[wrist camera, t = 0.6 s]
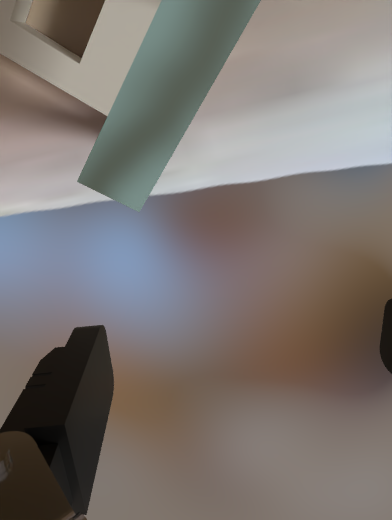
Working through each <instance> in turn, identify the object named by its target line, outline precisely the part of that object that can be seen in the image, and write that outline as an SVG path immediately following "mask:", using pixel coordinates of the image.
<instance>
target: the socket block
mask: <svg viewBox="0 0 392 520" xmlns="http://www.w3.org/2000/svg"><path fill="white" fill-rule="evenodd" d="M32 1H33V0H0V54H2V55H3V56H5V57H7V58H8V59H10V60H12V61H14V62H15V63H17V64H19V65H20V66H22V67H24V68H26V69H27V70H29V71H31V72H32V73H34V74H36V75H38V76H39V77H41V78H43V79H44V80H46V81H48V82H50V83H51V84H53V85H55V86H56V87H58V88H60V89H62V90H63V91H65V92H67V93H68V94H70V95H72V96H74V97H75V98H77V99H79V100H80V101H82V102H84V103H85V104H87V105H89V106H91V107H92V108H94V109H96V110H97V111H99V112H101V113H103V114H104V115H106V116H108V114H109V112H110V110H111V108H112V106H113V103H114V101H115V99H116V97H117V95H118V93H119V91H120V88H121V86H122V84H123V82H124V80H125V78H126V76H127V73H128V71H129V69H130V67H131V65H132V63H133V61H134V58H135V56H136V54H137V52H138V50H139V48H140V46H141V43H142V41H143V39H144V37H145V35H146V33H147V31H148V28H149V26H150V24H151V22H152V20H153V18H154V16H155V13H156V11H157V9H158V7H159V5H160V3H161V1H162V0H105V2H104V5H103V7H102V10H101V12H100V15H99V17H98V20H97V22H96V25H95V27H94V29H93V32H92V34H91V37H90V39H89V42H88V44H87V47H86V49H85V52H84V54H83V57H82V58H80V57H79V56H77V55H76V54H74V53H72V52H71V51H69V50H68V49H66V48H64V47H63V46H61V45H60V44H58V43H57V42H55V41H53V40H52V39H50V38H49V37H47V36H45V35H44V34H42V33H41V32H39V31H38V30H36V29H34V28H33V27H31V26H30V25H28V24H26V19H27V16H28V13H29V10H30V7H31V4H32Z"/></svg>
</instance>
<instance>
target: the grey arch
mask: <svg viewBox="0 0 392 520" xmlns="http://www.w3.org/2000/svg"><path fill="white" fill-rule="evenodd" d="M260 1H261V0H162V1H161V3H160V5H159V7H158V9H157V11H156V13H155V16H154V18H153V20H152V22H151V24H150V26H149V28H148V31H147V33H146V35H145V37H144V39H143V41H142V43H141V46H140V48H139V50H138V52H137V54H136V56H135V58H134V61H133V63H132V65H131V67H130V69H129V71H128V73H127V76H126V78H125V80H124V82H123V84H122V86H121V88H120V91H119V93H118V95H117V97H116V99H115V101H114V103H113V106H112V108H111V110H110V112H109V114H108V116H107V118H106V121H105V123H104V125H103V127H102V129H101V131H100V133H99V136H98V138H97V140H96V142H95V144H94V146H93V149H92V151H91V153H90V155H89V157H88V159H87V161H86V164H85V166H84V168H83V170H82V172H81V174H80V176H79V179H78V181H77V182H79V183H81V184H83V185H85V186H87V187H89V188H91V189H93V190H95V191H97V192H99V193H101V194H103V195H105V196H107V197H109V198H111V199H113V200H116V201H118V202H120V203H122V204H124V205H126V206H128V207H130V208H132V209H134V210H136V211H138V212H140V210H141V208H142V206H143V205H144V203H145V201H146V199H147V198H148V196H149V194H150V193H151V191H152V189H153V187H154V186H155V184H156V182H157V180H158V179H159V177H160V175H161V173H162V172H163V170H164V168H165V166H166V165H167V163H168V161H169V159H170V158H171V156H172V154H173V152H174V151H175V149H176V147H177V145H178V144H179V142H180V140H181V139H182V137H183V135H184V133H185V132H186V130H187V128H188V126H189V125H190V123H191V121H192V119H193V118H194V116H195V114H196V112H197V111H198V109H199V107H200V105H201V104H202V102H203V100H204V98H205V97H206V95H207V93H208V91H209V90H210V88H211V86H212V84H213V83H214V81H215V79H216V78H217V76H218V74H219V72H220V71H221V69H222V67H223V65H224V64H225V62H226V60H227V58H228V57H229V55H230V53H231V51H232V50H233V48H234V46H235V44H236V43H237V41H238V39H239V37H240V36H241V34H242V32H243V30H244V29H245V27H246V25H247V23H248V22H249V20H250V18H251V17H252V15H253V13H254V11H255V10H256V8H257V6H258V4H259V3H260Z"/></svg>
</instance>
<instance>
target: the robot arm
mask: <svg viewBox="0 0 392 520" xmlns="http://www.w3.org/2000/svg"><path fill="white" fill-rule="evenodd" d="M380 354H381V359H382V361H383V363H384V365H385V367H386V368H387V369H388V371H389V372H390V373H392V299H390V300H388V301H387V303H386V305H385V310H384V318H383V325H382V333H381V341H380ZM32 375H33V376H32V377H30V379H29V381H28V383H27V385H26V388H25V389H23V391H22V393H21V395H20V396H19V398H18V400H17V402H16V403H15V405H14V407H13V408H12V410H11V412H10V414H9V415H8V417H7V419H6V420H5V422H4V424H3V426H2V427H1V429H0V520H87V519H86V517H85V516H84V515H86V514H87V510H88V505H89V501H90V497H91V492H92V488H93V483H94V479H95V474H96V470H97V465H98V460H99V456H100V451H101V447H102V442H103V437H104V433H105V429H106V424H107V420H108V415H109V411H110V406H111V401H112V397H113V390H114V377H113V369H112V364H111V358H110V352H109V346H108V341H107V335H106V330H105V327H104V326H103V325H97V326H86V327H76V328H74V330H73V332H72V334H71V336H70V338H69V340H68V342H67V344H66V346H65V347H58V348H54V349H53V350H52V351H51V352H50V353H48V354H47V355H46V356H45V357H44V358H43V359H41V360H40V362H39V364H38V366H37V367H36V369H35V371H34V372H33V374H32Z"/></svg>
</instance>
